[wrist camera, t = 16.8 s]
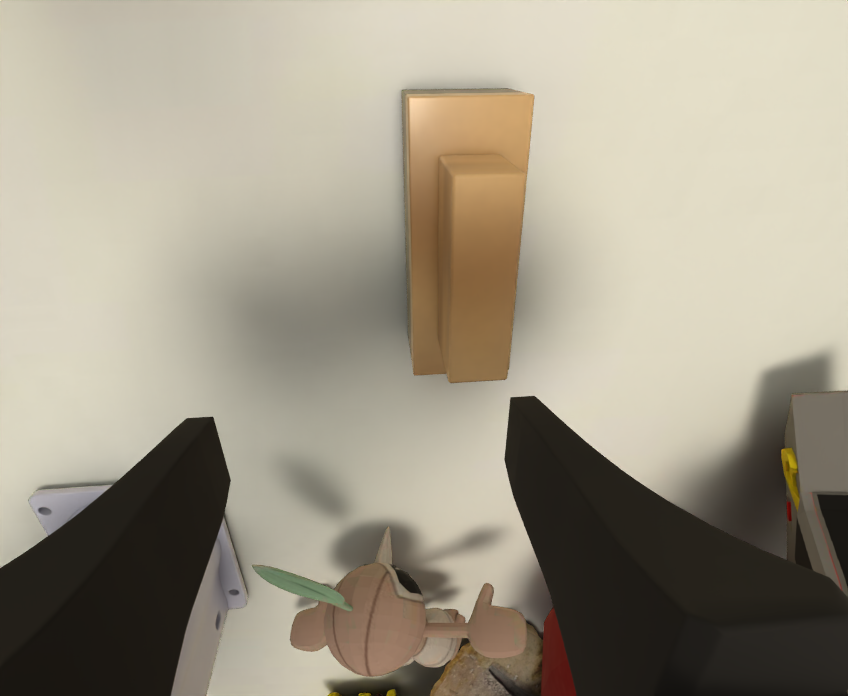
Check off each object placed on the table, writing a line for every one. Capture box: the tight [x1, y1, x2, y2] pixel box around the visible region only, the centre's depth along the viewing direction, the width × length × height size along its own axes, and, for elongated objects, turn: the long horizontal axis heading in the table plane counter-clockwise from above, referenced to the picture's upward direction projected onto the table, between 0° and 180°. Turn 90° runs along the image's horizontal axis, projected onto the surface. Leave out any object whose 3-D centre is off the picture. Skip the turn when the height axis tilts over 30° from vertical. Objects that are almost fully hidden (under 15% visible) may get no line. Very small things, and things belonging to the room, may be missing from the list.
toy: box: [252, 527, 527, 677], centre depth 23 cm, size 13×7×15 cm
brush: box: [401, 88, 534, 383], centre depth 16 cm, size 9×4×6 cm, turn 0°
